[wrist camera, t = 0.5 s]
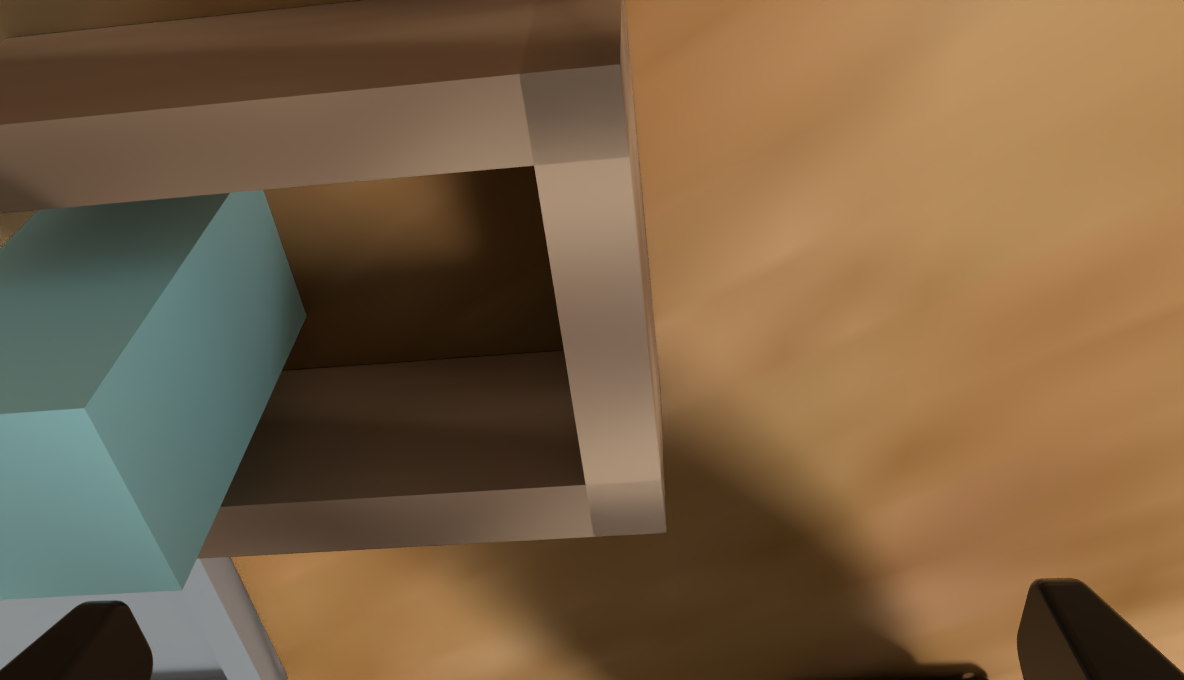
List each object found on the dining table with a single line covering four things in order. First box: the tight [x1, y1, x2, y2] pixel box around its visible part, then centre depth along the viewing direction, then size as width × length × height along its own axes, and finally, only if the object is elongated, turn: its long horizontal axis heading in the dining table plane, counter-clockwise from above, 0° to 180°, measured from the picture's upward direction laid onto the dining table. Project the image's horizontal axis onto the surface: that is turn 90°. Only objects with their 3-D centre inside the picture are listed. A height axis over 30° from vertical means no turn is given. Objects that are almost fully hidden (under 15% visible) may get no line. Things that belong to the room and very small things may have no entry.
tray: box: [0, 557, 288, 680], centre depth 28 cm, size 11×13×1 cm
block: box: [0, 190, 306, 600], centre depth 19 cm, size 4×4×8 cm
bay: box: [0, 0, 667, 559], centre depth 20 cm, size 10×12×4 cm
